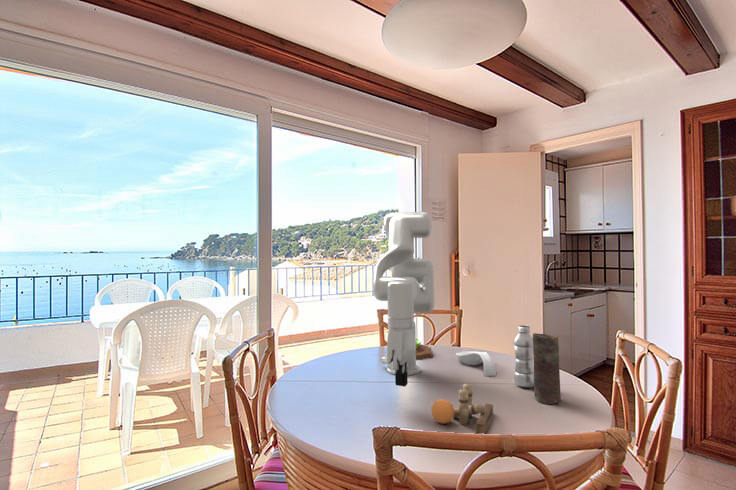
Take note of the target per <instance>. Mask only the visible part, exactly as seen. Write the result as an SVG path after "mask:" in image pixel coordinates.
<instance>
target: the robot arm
mask: <svg viewBox="0 0 736 490" xmlns="http://www.w3.org/2000/svg"><path fill="white" fill-rule="evenodd" d="M383 225H384V226H383V227H384V232H385V233H386V237H387V239H388V250H387V251H386V252H385V253H384V254H383V255H382V256H381V257H380V258H379V260H378V261H377V263H376V265H375V268H374V272H373V283H372V284H373V285H372V288H373V296H374V297H375V299H376V300H378V301H379V302H380V301H381V302H387V328H388V333H387V341H386V342H387V343H386V344H387V345H386V356H382V357H381V361H380V362H381V363H382V364H384V365H387V367H386V371H387V372H388V373H389V374H393V375H394V377H395V378H394V379H395V382H394V383H395V386H399V387H404V388H405V387H406V386H407V385H408V380H409V379H408V377H409V376H413V375H417V374H419V373H420V372H421V367H420V366H419V365H417V360H416V339H417V338H416V336H417V334H416V333H417V331H416V329H417V327H416V322H415V321H414V319H415V314H416V313H418V314H419V313H430V312H432V311H434V308H435V276H434V272H435V271H434V266H433V265H434V264H433V263H432V261H431V260H430V259H428V258H415V257H414V255H415V239H426V238H429V237H430V236H431V235H432V220H431V217H430V214H429V213H428V212H426V211H407V212H406V211H403V212H402V211H401V212H400V211H398V212H391V213H390V212H389V213H388V214H385V216H384V218H383ZM390 268H391V276H384V275H385V273H386V271H388V270H389V269H390ZM420 285H421V286H422V287H421V286H420Z"/></svg>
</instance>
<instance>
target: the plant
mask: <svg viewBox="0 0 736 490" xmlns="http://www.w3.org/2000/svg"><path fill="white" fill-rule="evenodd" d="M432 351H433V350H432V348H431V347H430V346H428V345H425V344H422V341H419V339H418V338H416V361H417V360H423V359H432V358H433V352H432Z"/></svg>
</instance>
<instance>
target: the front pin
mask: <svg viewBox="0 0 736 490" xmlns="http://www.w3.org/2000/svg"><path fill="white" fill-rule="evenodd" d="M453 408H454V417H453V419H455V418H456V419H457V418H459V406H458V407H453ZM468 410H469V415H472V416H473V415H474V416H475V415H479V414H481V413H484V404H483V403H482V402H479V403H475V404H473V403H472V405H468Z"/></svg>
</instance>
